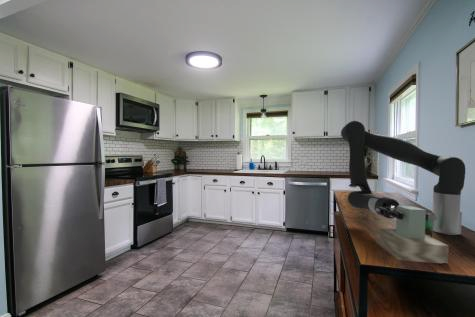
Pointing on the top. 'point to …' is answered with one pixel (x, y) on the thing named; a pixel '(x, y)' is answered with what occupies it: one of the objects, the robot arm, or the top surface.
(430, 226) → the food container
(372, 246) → the top surface
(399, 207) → the sage block
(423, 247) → the birch block
